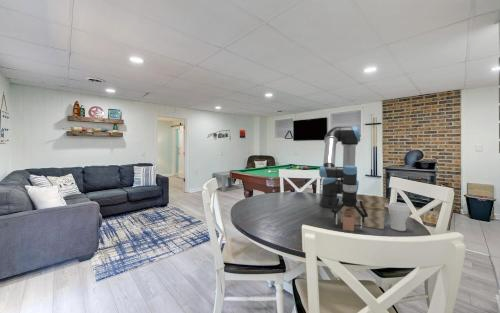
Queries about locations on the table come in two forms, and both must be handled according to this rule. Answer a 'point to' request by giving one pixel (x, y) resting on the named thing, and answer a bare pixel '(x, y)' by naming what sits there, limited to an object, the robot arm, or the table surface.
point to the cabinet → (348, 220)
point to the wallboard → (368, 211)
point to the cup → (398, 215)
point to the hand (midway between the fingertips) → (348, 225)
